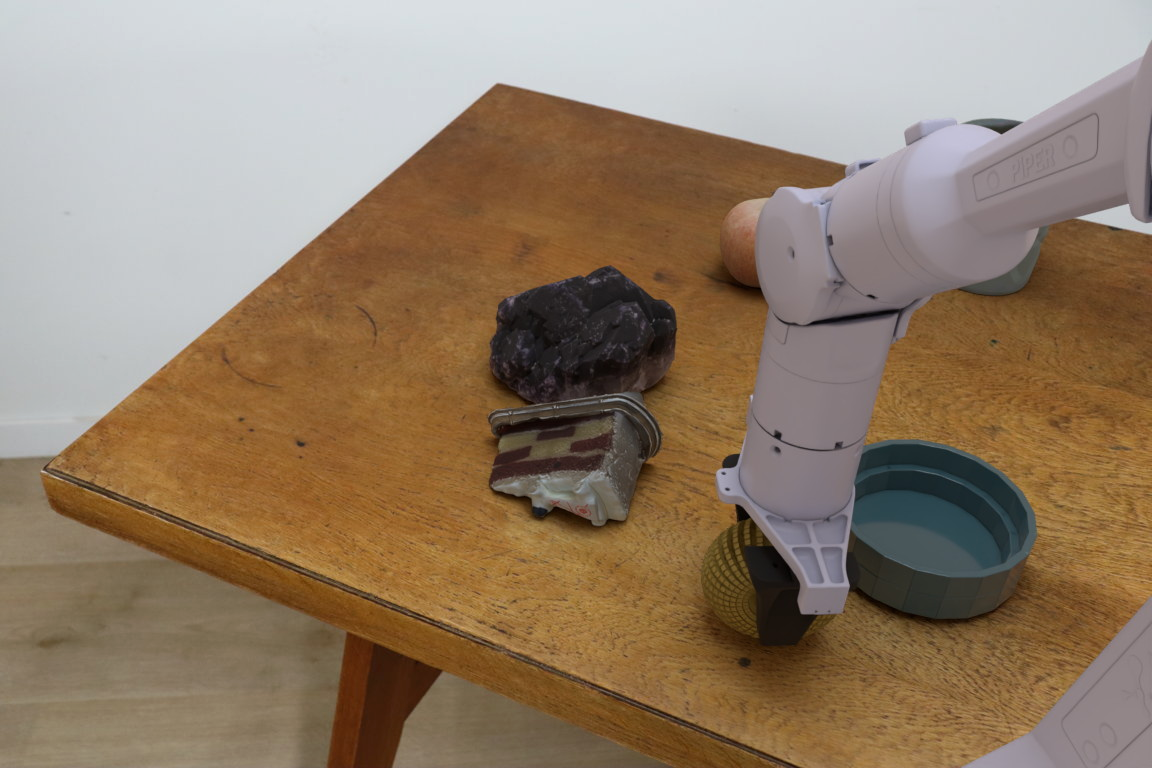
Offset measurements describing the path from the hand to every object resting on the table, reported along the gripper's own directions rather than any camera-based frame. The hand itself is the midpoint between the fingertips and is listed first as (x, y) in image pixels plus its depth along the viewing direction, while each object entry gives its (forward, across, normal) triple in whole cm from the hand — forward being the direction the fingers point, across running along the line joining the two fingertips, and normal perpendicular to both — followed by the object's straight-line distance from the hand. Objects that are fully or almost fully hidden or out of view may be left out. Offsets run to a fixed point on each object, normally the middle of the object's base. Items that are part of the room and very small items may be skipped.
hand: (768, 603), depth 62 cm
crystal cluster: (+2, -25, -9) cm, 27 cm away
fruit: (+2, -38, +7) cm, 39 cm away
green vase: (+2, -40, +27) cm, 48 cm away
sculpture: (+2, 0, 0) cm, 2 cm away
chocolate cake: (+2, -12, -11) cm, 16 cm away
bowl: (+2, -6, +11) cm, 13 cm away
